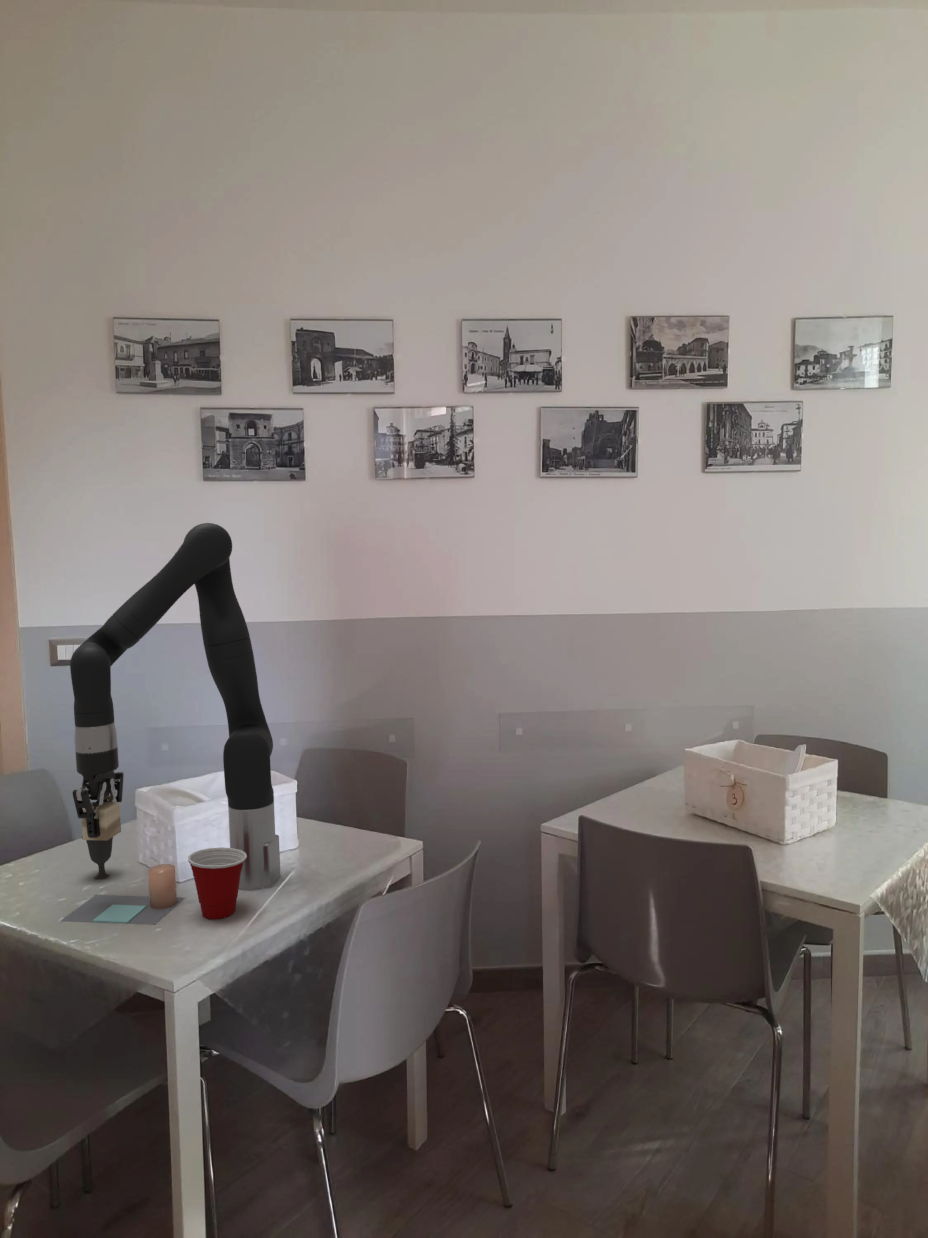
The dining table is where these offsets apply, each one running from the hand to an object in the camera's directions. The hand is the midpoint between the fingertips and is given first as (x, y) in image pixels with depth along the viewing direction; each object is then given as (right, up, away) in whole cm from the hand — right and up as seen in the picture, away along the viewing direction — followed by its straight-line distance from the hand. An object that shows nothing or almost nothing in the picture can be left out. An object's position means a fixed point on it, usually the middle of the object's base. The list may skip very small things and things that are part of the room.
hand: (102, 831), depth 164 cm
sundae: (-7, -14, +15) cm, 22 cm away
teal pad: (+5, -15, -4) cm, 17 cm away
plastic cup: (+24, -15, -4) cm, 29 cm away
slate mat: (+5, -15, -1) cm, 16 cm away
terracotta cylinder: (+12, -14, +1) cm, 18 cm away
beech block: (0, -1, 0) cm, 1 cm away
